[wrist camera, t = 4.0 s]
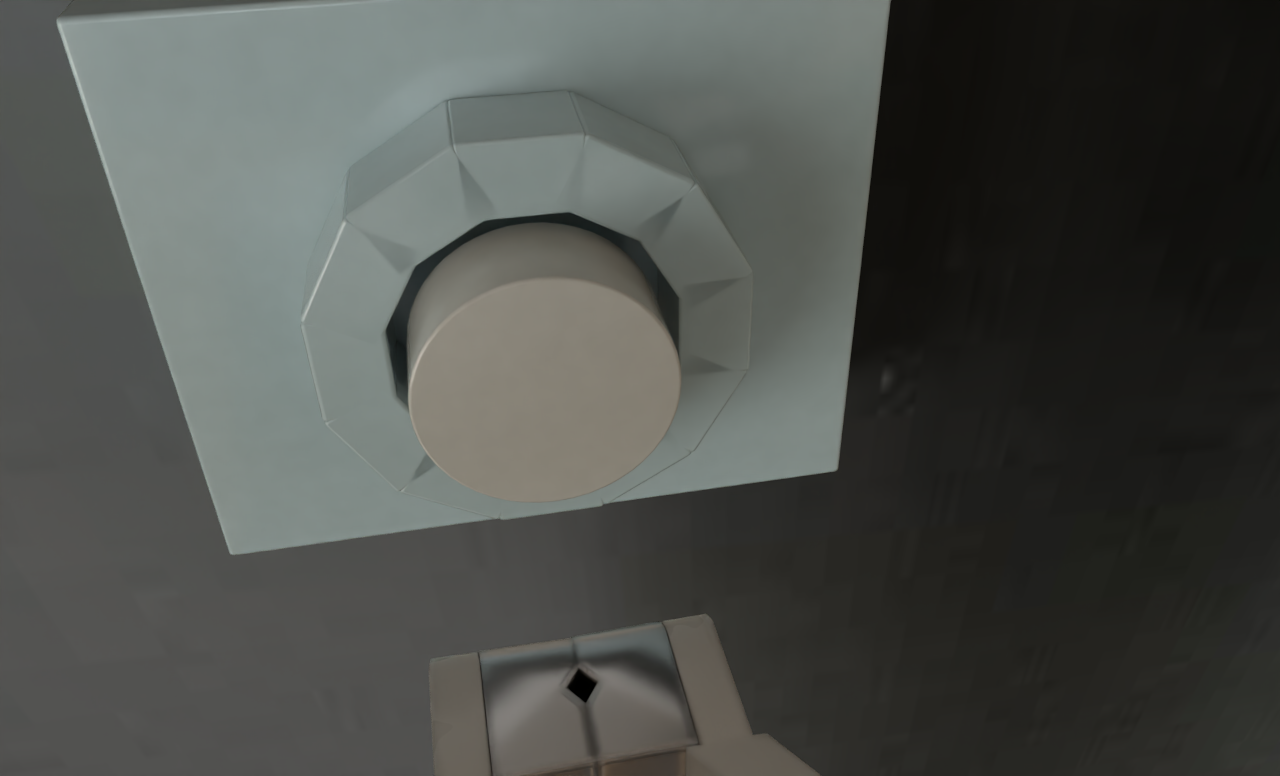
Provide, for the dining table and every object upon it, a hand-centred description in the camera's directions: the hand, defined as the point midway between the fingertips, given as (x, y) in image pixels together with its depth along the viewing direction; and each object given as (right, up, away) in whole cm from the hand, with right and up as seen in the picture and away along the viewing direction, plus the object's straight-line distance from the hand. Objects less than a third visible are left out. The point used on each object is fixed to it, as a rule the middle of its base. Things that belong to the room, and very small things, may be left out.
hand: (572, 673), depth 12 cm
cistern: (-2, +6, +9) cm, 11 cm away
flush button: (-1, +4, +5) cm, 7 cm away
